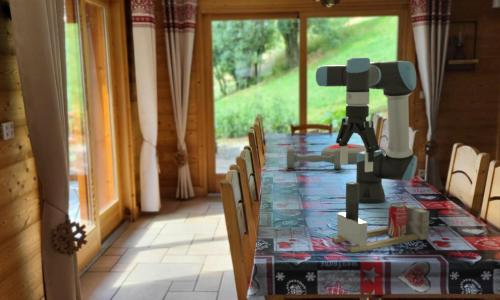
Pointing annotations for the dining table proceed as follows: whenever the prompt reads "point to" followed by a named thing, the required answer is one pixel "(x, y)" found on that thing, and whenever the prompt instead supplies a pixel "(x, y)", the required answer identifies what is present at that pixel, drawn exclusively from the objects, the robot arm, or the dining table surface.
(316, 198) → the dining table surface
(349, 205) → the vice jaw
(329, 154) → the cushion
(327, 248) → the dining table surface
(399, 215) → the soda can
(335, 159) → the dumbbell
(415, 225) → the base
